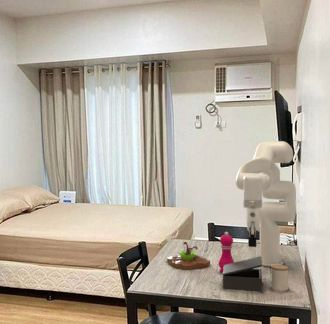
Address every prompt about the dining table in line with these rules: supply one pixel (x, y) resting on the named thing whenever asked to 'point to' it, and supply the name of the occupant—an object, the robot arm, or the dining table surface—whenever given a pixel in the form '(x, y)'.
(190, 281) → the dining table surface
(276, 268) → the canister
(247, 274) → the dark grey open box
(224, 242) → the pepper mill
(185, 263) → the plant
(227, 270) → the lid
